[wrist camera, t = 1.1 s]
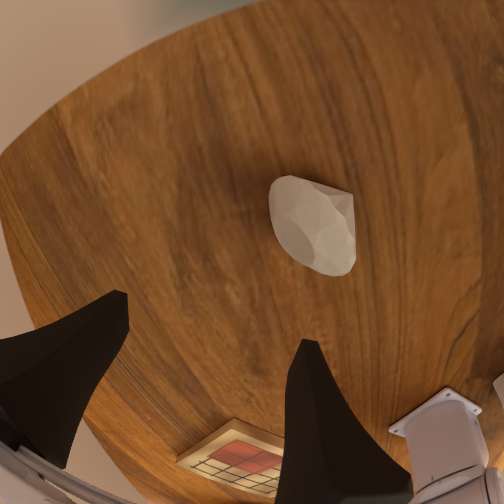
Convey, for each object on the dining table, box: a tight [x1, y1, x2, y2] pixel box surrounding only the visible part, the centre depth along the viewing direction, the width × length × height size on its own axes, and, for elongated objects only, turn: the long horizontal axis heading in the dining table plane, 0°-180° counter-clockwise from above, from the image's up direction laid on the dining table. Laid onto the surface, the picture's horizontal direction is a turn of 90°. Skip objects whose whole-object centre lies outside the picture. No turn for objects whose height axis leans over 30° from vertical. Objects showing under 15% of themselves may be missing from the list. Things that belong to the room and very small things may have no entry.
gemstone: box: [269, 175, 356, 276], centre depth 16 cm, size 6×6×5 cm
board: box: [175, 418, 284, 498], centre depth 31 cm, size 16×16×2 cm
